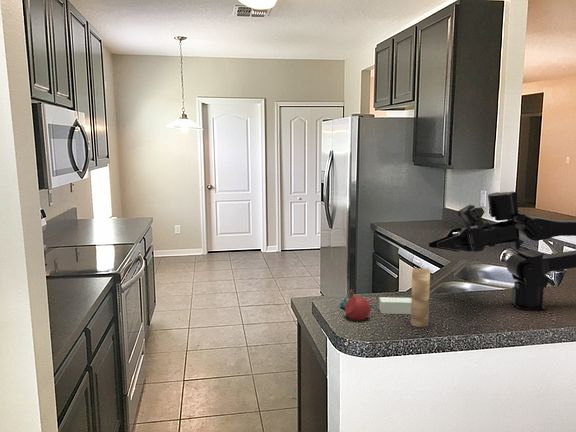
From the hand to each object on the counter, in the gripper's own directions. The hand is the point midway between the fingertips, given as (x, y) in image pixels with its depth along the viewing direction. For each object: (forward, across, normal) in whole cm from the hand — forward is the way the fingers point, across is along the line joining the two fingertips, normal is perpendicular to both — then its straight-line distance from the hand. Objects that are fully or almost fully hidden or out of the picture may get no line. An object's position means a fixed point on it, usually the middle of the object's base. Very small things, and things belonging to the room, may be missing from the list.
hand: (432, 245), depth 127 cm
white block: (+13, +2, +15) cm, 20 cm away
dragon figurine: (+22, 0, +13) cm, 26 cm away
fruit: (+22, +6, +14) cm, 27 cm away
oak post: (+9, +10, +17) cm, 22 cm away
